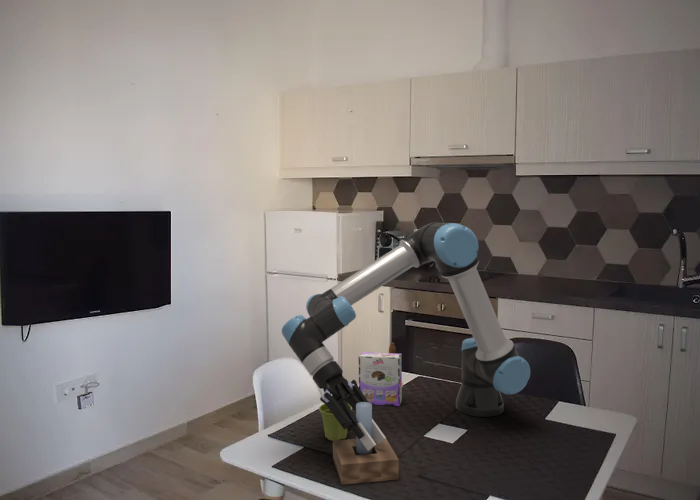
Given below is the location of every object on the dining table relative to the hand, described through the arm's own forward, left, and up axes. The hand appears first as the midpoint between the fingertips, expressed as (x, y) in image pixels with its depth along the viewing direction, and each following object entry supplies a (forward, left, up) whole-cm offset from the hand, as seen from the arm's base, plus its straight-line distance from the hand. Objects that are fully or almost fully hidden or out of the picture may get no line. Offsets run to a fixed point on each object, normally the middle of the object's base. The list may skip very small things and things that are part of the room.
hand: (377, 444), depth 146 cm
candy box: (-12, -49, -8) cm, 51 cm away
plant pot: (+7, -24, -8) cm, 26 cm away
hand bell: (-20, -65, -8) cm, 68 cm away
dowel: (+3, -3, -5) cm, 6 cm away
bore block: (+3, -3, -7) cm, 8 cm away
